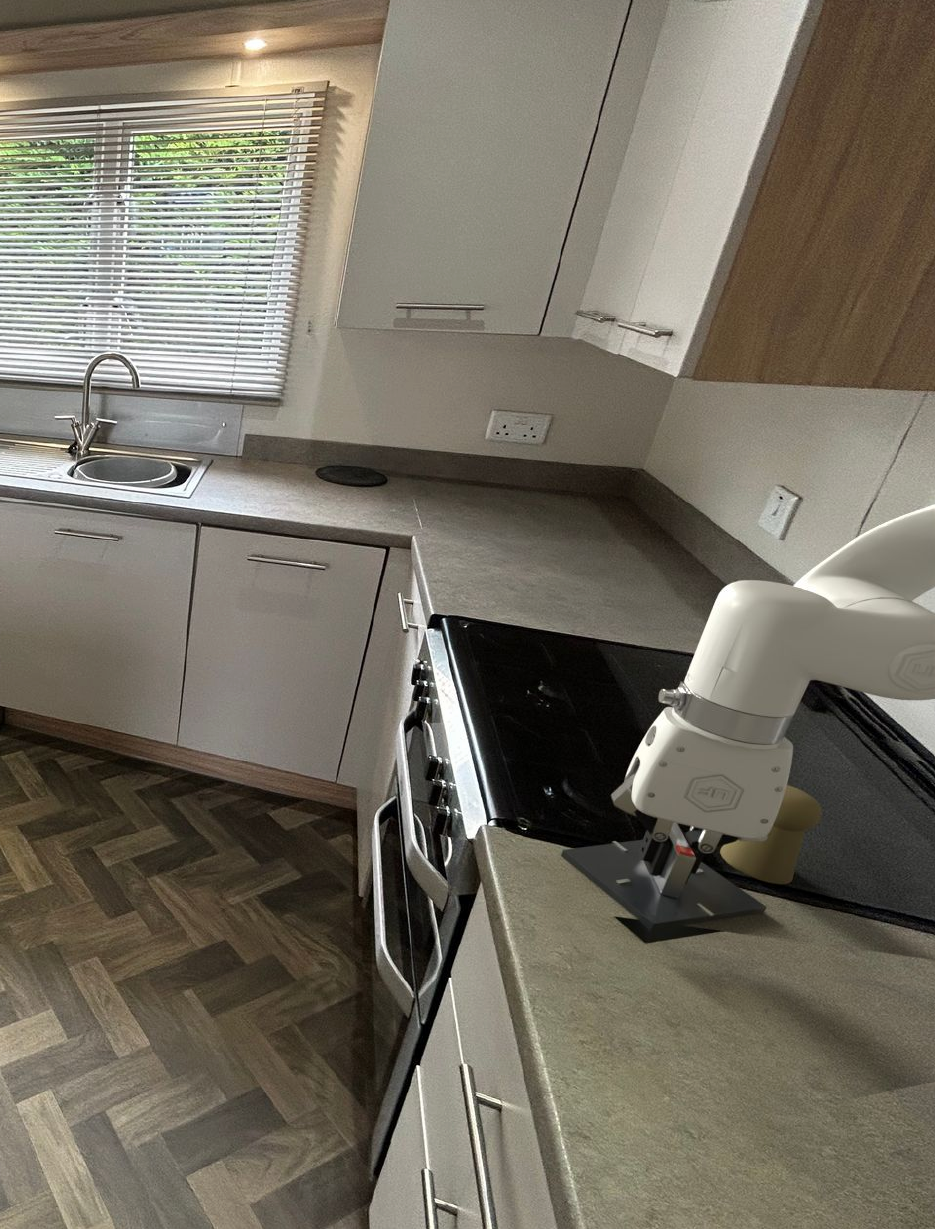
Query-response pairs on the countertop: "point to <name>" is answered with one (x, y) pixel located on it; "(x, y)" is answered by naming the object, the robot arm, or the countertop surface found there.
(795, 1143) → the countertop surface
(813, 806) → the cork
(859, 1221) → the countertop surface
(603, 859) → the plate
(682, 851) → the tap handle
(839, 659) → the robot arm
